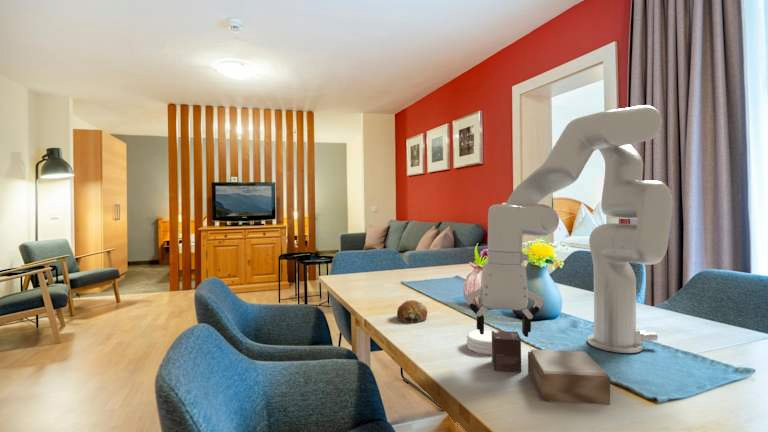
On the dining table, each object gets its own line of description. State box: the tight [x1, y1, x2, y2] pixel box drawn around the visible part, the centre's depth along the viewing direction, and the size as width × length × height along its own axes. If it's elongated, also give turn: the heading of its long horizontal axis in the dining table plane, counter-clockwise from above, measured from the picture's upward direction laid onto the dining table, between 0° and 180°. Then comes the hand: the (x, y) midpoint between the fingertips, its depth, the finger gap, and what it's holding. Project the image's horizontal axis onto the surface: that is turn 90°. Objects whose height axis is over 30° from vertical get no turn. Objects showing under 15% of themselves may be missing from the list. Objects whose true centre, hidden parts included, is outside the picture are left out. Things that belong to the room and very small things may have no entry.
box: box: [491, 330, 522, 373], centre depth 92 cm, size 6×6×7 cm
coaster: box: [466, 329, 493, 356], centre depth 104 cm, size 10×10×4 cm
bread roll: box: [396, 299, 428, 324], centre depth 132 cm, size 10×10×8 cm
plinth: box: [527, 349, 611, 405], centre depth 81 cm, size 12×12×6 cm
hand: (503, 333), depth 91 cm, fingers open, 9 cm apart
